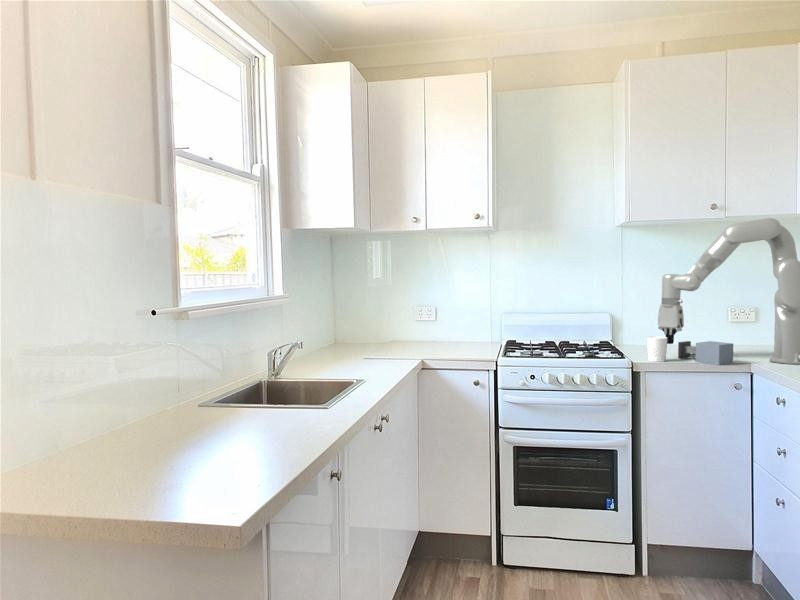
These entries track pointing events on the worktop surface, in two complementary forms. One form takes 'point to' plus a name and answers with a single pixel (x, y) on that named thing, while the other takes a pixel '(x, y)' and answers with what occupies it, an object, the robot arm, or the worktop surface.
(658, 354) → the white cup
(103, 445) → the worktop surface
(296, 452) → the worktop surface
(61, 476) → the worktop surface
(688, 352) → the plunger
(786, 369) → the worktop surface
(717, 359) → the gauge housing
